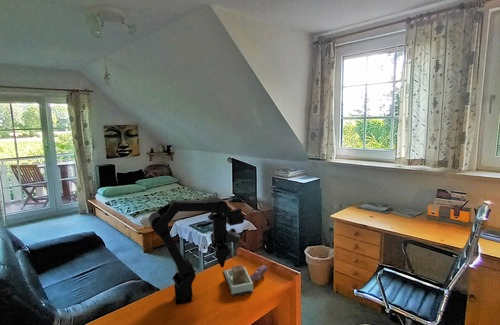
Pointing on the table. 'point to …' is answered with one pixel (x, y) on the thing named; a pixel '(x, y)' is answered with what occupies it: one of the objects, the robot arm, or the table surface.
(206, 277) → the table surface
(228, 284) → the track
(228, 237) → the robot arm
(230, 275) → the pale green tray
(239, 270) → the walnut block
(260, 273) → the sweet potato
